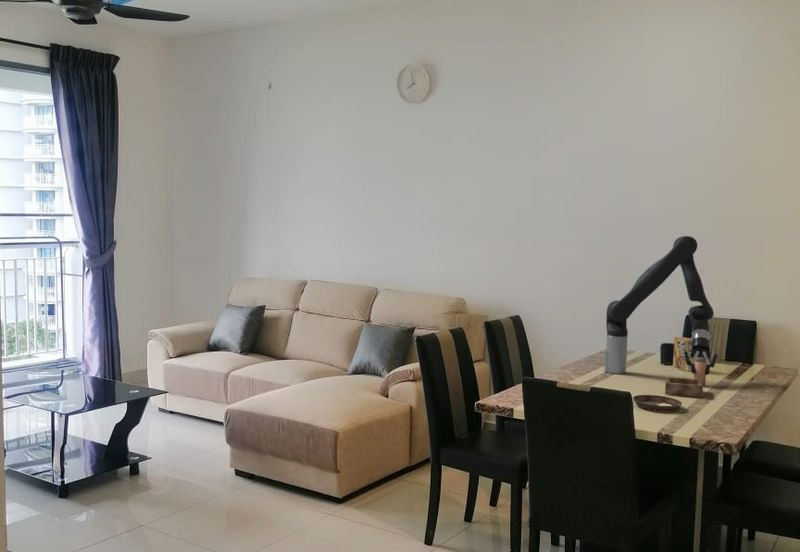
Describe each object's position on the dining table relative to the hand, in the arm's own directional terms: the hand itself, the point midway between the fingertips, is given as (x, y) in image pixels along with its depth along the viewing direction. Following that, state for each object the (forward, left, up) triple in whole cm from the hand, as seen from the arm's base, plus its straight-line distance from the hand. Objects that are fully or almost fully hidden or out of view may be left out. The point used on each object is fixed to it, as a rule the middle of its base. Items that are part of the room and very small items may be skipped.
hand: (700, 373), depth 326 cm
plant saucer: (-17, -48, -6) cm, 51 cm away
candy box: (-6, +38, -6) cm, 39 cm away
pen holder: (-12, +49, -6) cm, 51 cm away
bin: (-7, -17, -6) cm, 19 cm away
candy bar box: (+3, +70, -6) cm, 70 cm away
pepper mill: (0, +2, -6) cm, 6 cm away
